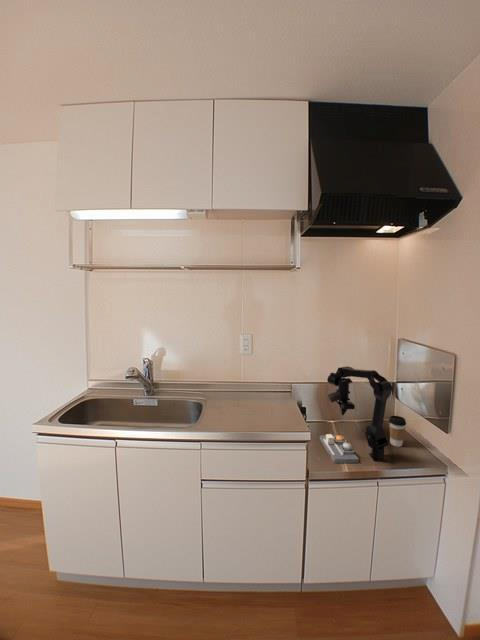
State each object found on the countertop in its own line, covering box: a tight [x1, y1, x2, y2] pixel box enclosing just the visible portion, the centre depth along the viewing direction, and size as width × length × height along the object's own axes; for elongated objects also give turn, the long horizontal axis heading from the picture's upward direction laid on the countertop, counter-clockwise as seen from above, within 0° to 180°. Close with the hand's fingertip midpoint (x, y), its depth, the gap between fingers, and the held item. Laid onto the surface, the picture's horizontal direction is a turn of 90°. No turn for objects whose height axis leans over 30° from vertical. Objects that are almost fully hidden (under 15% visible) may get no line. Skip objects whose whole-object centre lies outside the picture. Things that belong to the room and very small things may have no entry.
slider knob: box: [325, 433, 334, 444], centre depth 163 cm, size 4×3×4 cm
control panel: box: [319, 434, 360, 464], centre depth 160 cm, size 24×12×3 cm, turn 2°
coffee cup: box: [388, 415, 407, 448], centre depth 165 cm, size 8×8×15 cm
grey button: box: [343, 441, 352, 450], centre depth 154 cm, size 4×4×2 cm
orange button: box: [336, 434, 345, 441], centre depth 165 cm, size 4×4×2 cm
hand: (342, 415), depth 173 cm, fingers closed
